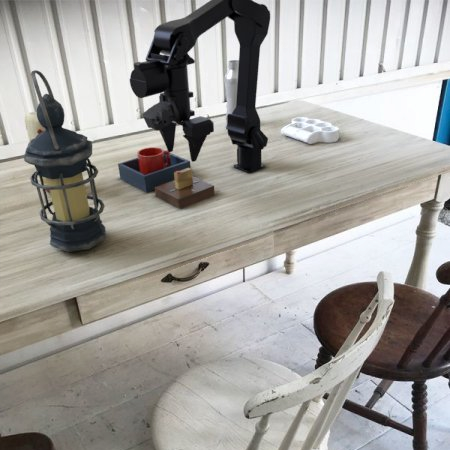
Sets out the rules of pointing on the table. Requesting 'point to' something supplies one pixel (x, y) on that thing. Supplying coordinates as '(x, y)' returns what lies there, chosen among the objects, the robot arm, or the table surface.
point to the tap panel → (184, 193)
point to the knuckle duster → (311, 130)
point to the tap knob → (183, 178)
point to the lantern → (64, 177)
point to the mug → (153, 160)
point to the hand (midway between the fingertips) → (182, 156)
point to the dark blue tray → (148, 182)
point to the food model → (34, 132)
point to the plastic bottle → (231, 85)
